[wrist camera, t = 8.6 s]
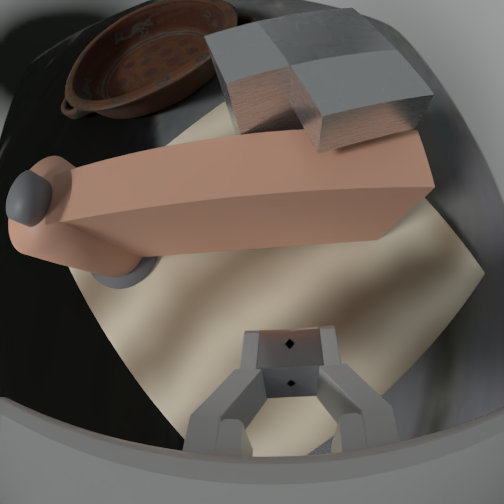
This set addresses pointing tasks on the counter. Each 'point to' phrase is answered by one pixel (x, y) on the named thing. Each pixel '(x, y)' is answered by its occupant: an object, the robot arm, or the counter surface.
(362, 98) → the block
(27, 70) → the counter surface
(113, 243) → the link
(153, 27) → the dish
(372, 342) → the base board
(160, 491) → the robot arm
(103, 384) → the counter surface
